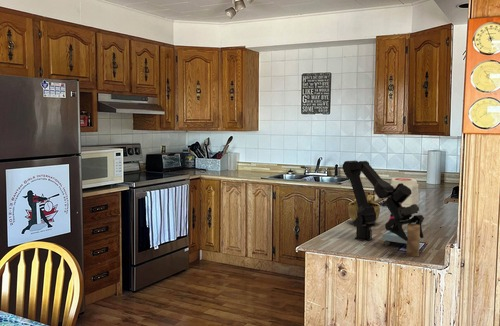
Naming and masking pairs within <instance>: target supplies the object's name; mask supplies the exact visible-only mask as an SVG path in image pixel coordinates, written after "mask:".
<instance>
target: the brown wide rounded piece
mask: <svg viewBox="0 0 500 326" xmlns="http://www.w3.org/2000/svg"><path fill="white" fill-rule="evenodd" d="M374 195H375V194H374ZM374 195H373V194H368V195H367V196H366V198H367V202H368V205H369V206H370V207H374V209H375V213H376V214H377V215H376V221H378V219H379V217H380V212H381V207H380V206H381V205H380V204H379V203H376V202H374V201H375V196H374ZM347 209H348V216H349V218H350V219H351V220H352V221H353V222H354V220H355V219H356V218H357V210H358V205H357V202H356V198H354V200H353V201H350V202H349V203H348V207H347Z"/></svg>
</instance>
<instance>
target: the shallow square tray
mask: <svg viewBox="0 0 500 326" xmlns="http://www.w3.org/2000/svg"><path fill="white" fill-rule="evenodd" d="M404 232H405V234H406V236H407V230H404ZM381 240H382V241H384V242H383V244H384V246H387V247H388V246H389V245H390V244H391V242H393V243H394V242H395V243H400V244H405V245H406V246H405V247H406V248H407V241H405V240H404V239H402V238H401V237H399V236H398V235H396V234H394V233H392V232H390V231H387V230H386V231H385V232H384V233H382V235H381ZM420 240H421V238H420V239H419V241H420Z"/></svg>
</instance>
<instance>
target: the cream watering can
mask: <svg viewBox="0 0 500 326" xmlns="http://www.w3.org/2000/svg"><path fill="white" fill-rule="evenodd" d="M399 183H403V185H405V186H407V187H408V188H410V190H411V192H412V193H411V195H410V196H409V197H408V198H407V199H406V200H405V201H404V202H403V203H402V204H401V205H402V207H409V206H411V205H413V204H416V205H417V206H418V207H419V186H420V184H419V183H418V180H416V178H414V177H413V178H411V177H390V183H389V184H390V185H392V186H393V187H394V188H396V187H397V185H398V184H399ZM374 196H375V201H374V203H376V202H379V201H380V200H381V199H383V198H379V197H378V196H377V195H376V194H374Z"/></svg>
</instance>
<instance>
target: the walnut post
mask: <svg viewBox="0 0 500 326" xmlns="http://www.w3.org/2000/svg"><path fill="white" fill-rule="evenodd" d="M406 229H407V230H406V231H407V238H408V241H407V244H406V245H407V247H406V253H405V254H406V256H408V257H411V256H412V257H413V258H415V257H419V256H420V240H421V238H420V225H418V224H407V228H406ZM419 239H420V240H419Z"/></svg>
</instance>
